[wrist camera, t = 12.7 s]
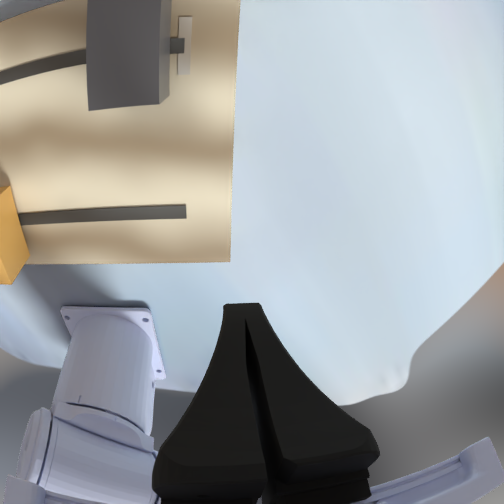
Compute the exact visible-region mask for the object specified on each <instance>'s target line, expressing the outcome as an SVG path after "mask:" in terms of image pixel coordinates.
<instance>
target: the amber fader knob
mask: <svg viewBox="0 0 504 504" xmlns="http://www.w3.org/2000/svg"><path fill="white" fill-rule="evenodd" d="M29 257H30V253H29V250H28V247H27V244H26V241H25V238H24V235H23V232H22V228H21V225H20V221H19V218H18V214H17V211H16V207H15V203H14V200H13V196H12V192H11V187H10V186H5V187H0V284H9V285H12V283H13V282H14V280H15V278H16V277H17V275H18V274H19V272H20V270H21V269H22V267H23V266H24V264H25V263H26V261H27V260H28V258H29Z"/></svg>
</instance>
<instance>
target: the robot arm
mask: <svg viewBox="0 0 504 504" xmlns="http://www.w3.org/2000/svg"><path fill="white" fill-rule="evenodd" d="M60 313H61V315H62V317H63V320H64V322H65V324H66V326H67V329H68V331H69V333H70V335H71V337H72V339H71V342H70V345H69V348H68V351H67V354H66V357H65V361H64V364H63V367H62V370H61V374H60V377H59V381H58V385H57V388H56V391H55V395H54V399H53V403H52V407H51V409H50V410H48V409H46V408H43V407H42V408H41V409H40V410H37V411H34V412H33V413H32V415H31V417H30V420H29V422H28V425H27V428H26V431H25V434H24V437H23V441H22V445H21V449H20V454H19V459H18V466H17V477H14V476H11V475H8V476H7V481H6V487H5V494H4V501H3V504H256V503H257V500H258V498H260V497H261V495H262V504H471V503H473V502H475V501H476V500H478V499H480V498H481V497H483V496H484V495H486V494H488V493H489V492H490V491H492V490H494V489H495V488H497V487H498V486H500V485H501V484H503V483H504V470H503V468H502V465H501V463H500V461H499V458H498V456H497V453H496V451H495V449H494V447H493V444H492V442H491V440H490V438H489V437H486V438H484V439H482V440H480V441H478V442H476V443H474V444H472V445H470V446H469V447H467V448H466V449H464V450H463V451H462V452H460V453H459V455H457V456H455V457H452V458H450V459H448V460H445V461H443V462H441V463H438V464H436V465H434V466H431V467H429V468H426V469H424V470H421V471H419V472H416V473H413V474H411V475H407V476H405V477H402V478H399V479H396V480H393V481H390V482H387V483H384V484H380V485H377V486H373V487H369V484H368V480H367V478H369V472H368V467H369V466H370V465H371V464H372V463H373V462H374V461H376V460H377V458H378V457H379V456H380V451H379V448H378V445H377V442H376V440H375V438H374V436H373V435H372V433H371V431H370V429H368V428H367V427H365V426H364V425H362V424H361V423H359V422H358V421H356V420H355V419H354V418H352V417H351V416H350V415H348V414H347V413H346V412H344V411H343V410H342V409H341V408H339V407H338V406H337V405H336V404H335V403H334V402H333V401H331V400H330V399H329V398H328V397H327V396H326V395H325V394H324V393H323V392H322V391H320V390H319V389H318V387H317V386H316V385H315V384H314V383H313V382H312V381H311V380H310V379H309V378H308V377H307V376H306V375H305V373H304V372H303V371H302V370H301V369H300V368H299V366H298V365H297V364H296V362H295V361H294V360H293V358H292V357H291V356H290V354H289V353H288V352H287V350H286V349H285V347H284V346H283V344H282V343H281V341H280V340H279V338H278V337H277V335H276V333H275V332H274V330H273V328H272V327H271V325H270V323H269V321H268V319H267V317H266V315H265V313H264V311H263V309H262V306H261V305H260V304H259V303H237V304H225V305H224V306H223V320H222V325H221V330H220V334H219V337H218V341H217V344H216V348H215V351H214V353H213V356H212V359H211V361H210V364H209V367H208V369H207V371H206V374H205V376H204V378H203V380H202V382H201V384H200V387H199V388H198V390H197V392H196V394H195V396H194V398H193V400H192V402H191V403H190V405H189V407H188V408H187V410H186V412H185V413H184V415H183V416H182V418H181V419H180V421H179V423H178V424H177V426H176V427H175V428H174V430H173V431H172V433H171V434H170V435H169V436H168V438H167V439H166V440H165V442H164V443H163V444H162V446H161V447H160V450H159V452H157V451H155V450H153V446H154V438H153V437H150V436H149V435H150V433H151V429H152V419H153V405H154V393H155V381H156V379H161V380H162V379H165V378H166V373H165V369H164V365H163V361H162V357H161V353H160V349H159V345H158V340H157V336H156V332H155V327H154V323H153V318H152V314H151V311H150V310H149V309H147V308H113V307H76V306H63V307H62V308H61V310H60ZM145 318H147V319H145Z"/></svg>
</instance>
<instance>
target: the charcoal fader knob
mask: <svg viewBox="0 0 504 504" xmlns="http://www.w3.org/2000/svg"><path fill="white" fill-rule="evenodd" d="M171 7H172V0H88V2H87V24H86V73H87V96H88V111H94V110H102V109H111V108H120V107H131V106H143V105H157V104H160V103H161V102H163V101H164V100H165V99H166V98H167V97H168V96H169V70H170V29H171Z"/></svg>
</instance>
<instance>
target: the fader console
mask: <svg viewBox="0 0 504 504" xmlns="http://www.w3.org/2000/svg"><path fill="white" fill-rule="evenodd" d="M87 2H88V0H64V1H60V2H56V3H53V4H50V5H46V6H43V7H40V8H37V9H34V10H31V11H28V12H25V13H23V14H20V15H17V16H15V17H12V18H9V19H7V20H4V21H2V22H0V187H5V186H10V187H11V192H12V196H13V200H14V203H15V207H16V211H17V214H18V218H19V221H20V225H21V228H22V232H23V235H24V238H25V241H26V244H27V247H28V250H29V253H30V257H29V258H28V260H27V261H26V263H25V264H130V263H200V262H230V247H231V204H232V170H233V141H234V115H235V91H236V70H237V50H238V32H239V14H240V0H172V7H171V29H170V70H169V96H168V97H167V98H166V99H165V100H164V101H163V102H161V103H160V104H157V105H143V106H131V107H120V108H111V109H102V110H94V111H88V96H87V73H86V24H87Z"/></svg>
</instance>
